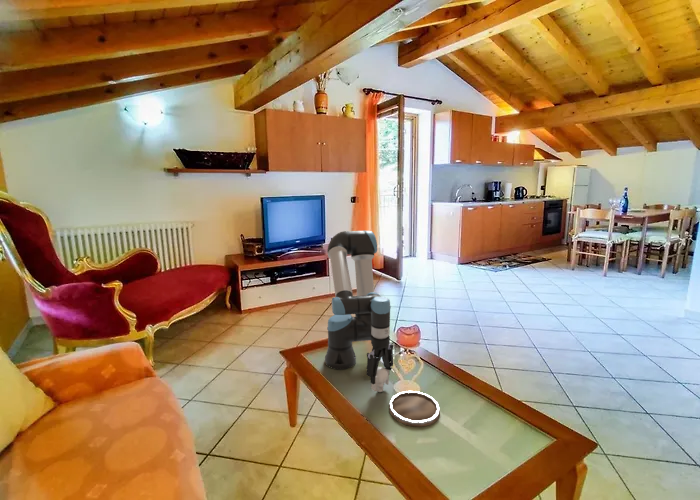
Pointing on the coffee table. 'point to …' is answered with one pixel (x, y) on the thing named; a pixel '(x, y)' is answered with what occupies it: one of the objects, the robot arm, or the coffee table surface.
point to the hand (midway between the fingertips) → (380, 386)
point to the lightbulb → (381, 378)
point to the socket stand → (414, 409)
